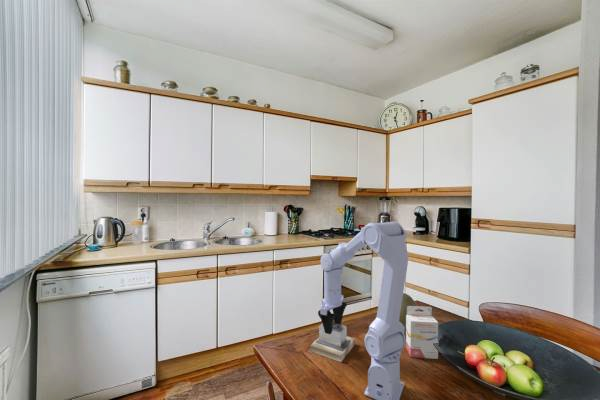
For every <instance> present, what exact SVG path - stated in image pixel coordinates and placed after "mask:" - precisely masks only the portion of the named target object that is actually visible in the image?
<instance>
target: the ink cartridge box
mask: <svg viewBox="0 0 600 400" xmlns="http://www.w3.org/2000/svg"><path fill="white" fill-rule="evenodd" d="M415 310H418V311H415ZM419 310H422V311H419ZM432 310H433V308H432V306H421V305H419V306H418V305H416V306H407V315H406V335H405V340H406V344H405V349H406V351H407V353H408V355H409V356H410V358H417V359H418V358H419V359H420V358H421V359H435V360H438V359H439V349H438V350H437V349H436V348H435V346H434V345H433V343H438V344H439V321H437V320H436V318H435V317H434V316H432V313H433V311H432Z"/></svg>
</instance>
